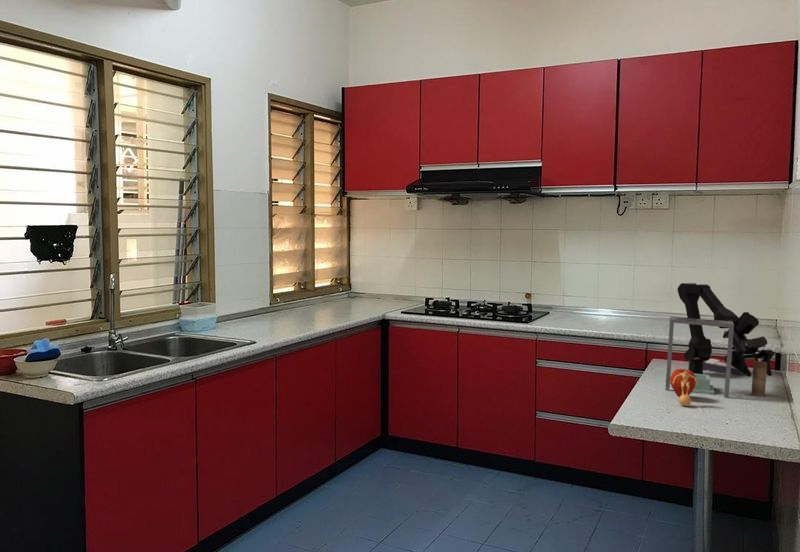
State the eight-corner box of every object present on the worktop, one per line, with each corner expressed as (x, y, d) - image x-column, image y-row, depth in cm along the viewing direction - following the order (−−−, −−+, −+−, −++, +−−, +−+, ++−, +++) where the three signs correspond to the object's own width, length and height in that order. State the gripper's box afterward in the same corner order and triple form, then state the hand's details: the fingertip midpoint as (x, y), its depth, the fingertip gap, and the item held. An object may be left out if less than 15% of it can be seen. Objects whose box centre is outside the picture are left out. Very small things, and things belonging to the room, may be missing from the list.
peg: (749, 393, 241) (752, 360, 240) (762, 394, 240) (765, 361, 239) (753, 396, 237) (755, 363, 236) (766, 397, 236) (768, 364, 235)
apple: (667, 398, 230) (669, 369, 229) (670, 393, 237) (671, 365, 237) (694, 402, 226) (696, 372, 225) (695, 397, 234) (697, 368, 233)
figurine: (672, 406, 221) (674, 372, 220) (670, 401, 226) (672, 368, 225) (698, 408, 218) (700, 374, 217) (696, 404, 224) (698, 370, 223)
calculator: (741, 368, 269) (703, 360, 279) (740, 378, 270) (702, 370, 279) (747, 364, 278) (710, 357, 287) (746, 373, 278) (709, 366, 288)
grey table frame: (666, 385, 250) (670, 316, 247) (727, 392, 241) (732, 321, 239) (665, 390, 242) (669, 319, 240) (728, 398, 233) (733, 324, 231)
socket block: (679, 383, 253) (680, 371, 253) (712, 387, 248) (713, 374, 248) (678, 390, 242) (679, 377, 242) (714, 394, 237) (715, 381, 237)
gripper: (731, 329, 239) (753, 365, 229) (772, 328, 244) (795, 363, 234) (715, 346, 247) (735, 381, 237) (754, 345, 252) (775, 379, 242)
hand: (760, 376), depth 237 cm, fingers open, 9 cm apart
